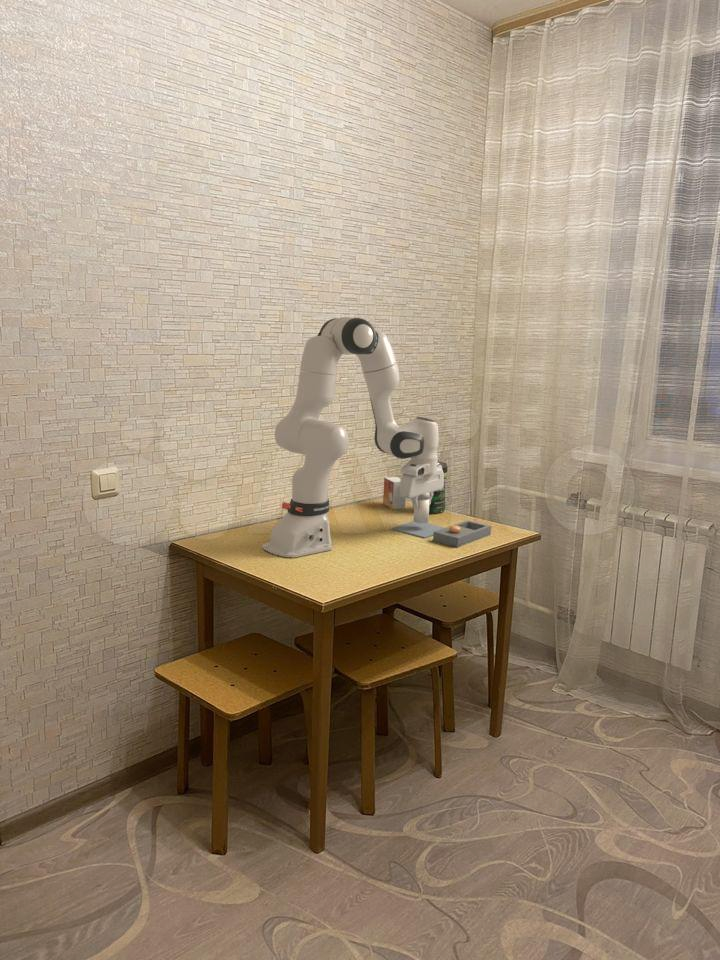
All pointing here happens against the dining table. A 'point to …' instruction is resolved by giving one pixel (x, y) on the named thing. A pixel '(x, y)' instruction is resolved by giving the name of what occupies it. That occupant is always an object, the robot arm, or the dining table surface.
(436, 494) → the coffee jar
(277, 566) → the dining table surface
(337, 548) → the dining table surface
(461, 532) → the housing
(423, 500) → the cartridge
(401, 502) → the small box
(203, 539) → the dining table surface
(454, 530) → the orange flat dome
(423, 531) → the mat
